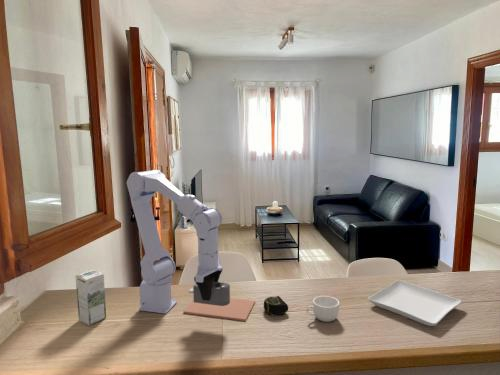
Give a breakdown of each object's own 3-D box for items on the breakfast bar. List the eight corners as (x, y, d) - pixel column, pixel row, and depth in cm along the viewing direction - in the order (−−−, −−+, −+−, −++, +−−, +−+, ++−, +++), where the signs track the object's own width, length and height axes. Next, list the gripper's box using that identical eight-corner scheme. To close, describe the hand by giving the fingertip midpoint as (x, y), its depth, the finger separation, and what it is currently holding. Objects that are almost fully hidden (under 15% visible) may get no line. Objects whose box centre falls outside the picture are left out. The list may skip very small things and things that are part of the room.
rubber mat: (183, 313, 111) (183, 311, 111) (198, 296, 123) (198, 294, 123) (245, 321, 106) (245, 319, 106) (255, 302, 118) (255, 300, 118)
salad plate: (434, 334, 99) (435, 323, 99) (365, 307, 115) (366, 297, 115) (462, 309, 113) (463, 299, 113) (397, 288, 129) (398, 279, 128)
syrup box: (96, 312, 112) (92, 268, 109) (107, 318, 108) (103, 272, 106) (78, 320, 107) (74, 274, 105) (89, 326, 104) (85, 279, 101)
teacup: (332, 310, 112) (332, 294, 111) (343, 323, 105) (344, 306, 104) (302, 314, 110) (302, 297, 109) (311, 327, 103) (311, 309, 102)
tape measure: (289, 315, 110) (289, 303, 109) (268, 318, 108) (268, 307, 107) (280, 305, 116) (280, 294, 116) (260, 308, 114) (260, 297, 114)
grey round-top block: (187, 301, 104) (186, 285, 103) (193, 294, 108) (193, 279, 107) (227, 306, 101) (227, 290, 100) (232, 299, 105) (231, 283, 104)
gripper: (212, 261, 94) (213, 309, 96) (229, 244, 108) (230, 287, 110) (187, 258, 96) (189, 306, 98) (207, 242, 110) (208, 284, 112)
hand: (209, 295), depth 104 cm, fingers closed on grey round-top block, 4 cm apart
